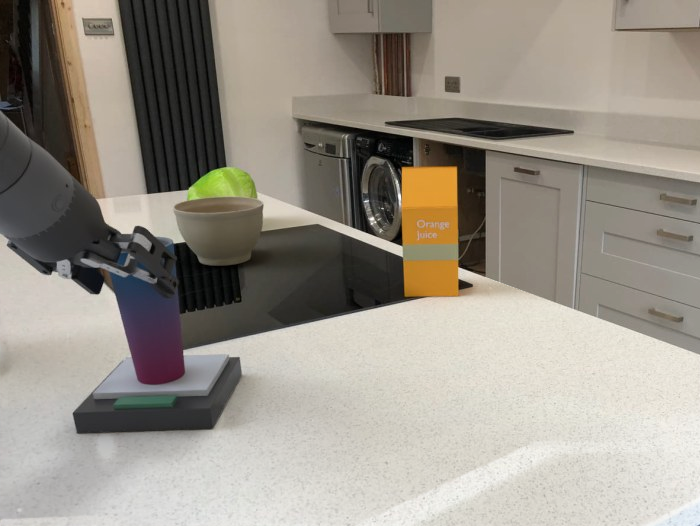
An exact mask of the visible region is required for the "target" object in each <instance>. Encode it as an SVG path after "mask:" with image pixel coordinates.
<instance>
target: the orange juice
mask: <svg viewBox="0 0 700 526" xmlns="http://www.w3.org/2000/svg"><path fill="white" fill-rule="evenodd" d="M458 206H459V205H458V166H401V208H400V209H401V233H402V234H401V235H402V237H401V238H402V244H401V245H402V261H403V286H404V297H405V298H409V297H411V298H412V297H413V298H414V297H419V298H421V297H459V214H458V212H459V210H458V209H459V207H458Z"/></svg>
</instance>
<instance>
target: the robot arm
mask: <svg viewBox="0 0 700 526" xmlns="http://www.w3.org/2000/svg"><path fill="white" fill-rule="evenodd" d="M0 234H1V236H2V237H4V238H6V239H7V240H8V241H7V243H6V247H8V249H10V250H11V251H12V252H13V253H15V254H16V255H17V256H19V257H20V258H21V259H22V260H24V261H25V262H26V263H27V264H29V265H30V266H31V267H33V268H34V269H35V270H36V271H37V272H38V273H40V274H42V275H45V276H51V275H53V273H57V275H58V277H60V278H62V279H64V280H72V281H73V282H74V283H75V284H77V285H78V286H79V287H80V288H82V289H83V290H85V292H87V293H88V294H90V295H97V296H99V295H100V294H101V292H102V289H103V286H104V284H105V276H104V275H103V274H102V273H100V272H99V271H98V270H97V268H101V269H103V270H106V271H108V272H109V271H110V272H113V273H115V274H117V275H120V276H122V277H125V278H127V277H129V276H131V275H132V276H135V277H137V278H139V279H142V280H144V281H146V282H147V283H148V284H149V285H150V286H151V287H153V288H154V289H155V290H156V291H157V292H158V293H159V294H160V295H161V296H163V297H164V298H170V299H172V298H173V297H174V294H175V293H176V290H177V288H178V286H179V284H180V281H179V279H178V277H177V276H176V277H177V278H176V277H175V276H174V275H173V274H172V272H173V269H174V266H176V263H177V260H178V257H177V255H174V254H175V253H174V254H173V253H172V252H171V251H170V250H169V249H168V248H167V247H166V246H164V245H163V244H162V243H161V242H160V241H159V240H158V239H157V238H156V237H157V236H155V235H154V234H153V233H152V232H151V231H150V230H149V229H147V228H146V227H144V226H142V225H135V226H134V227H133V230H132V233H121V232H120V230H118V229H116V228H115V227H113V226H111V225H109V224H108V223H107V222H106V220H105V218H104V216H103V213H102V208H101V205H100V203H99V202H98V199H96V197H95V196H94V195H93V194H92V193H91V192H90V191H88V190H87V188H85V186H83V184H81V182H79V181H78V180H77V179H76V178H75V177H74V176H73V175H72V174H71V173H70V172H69V171H68V170H67V169H66V168H65V167H64V166H63V165H62V164H61V163H60V162H59V161H58V160H57V159H56V158H55V157H54V156H53V155H52V154H51V153H49V152H48V150H46V149H45V148H44V147H42V146H41V145H40V144H38V143H36V142H35V141H34V140H32V139H31V138H30V136H27V135H26V134H25V133H24V132H23V131H22V130H21V129H20V128H19V127H18V126H17V125H16V124H15V123H14V122H13V121H12V120H11V119H10V118H9V117H7V115H6V114H5V113H4V112H3V111H1V110H0ZM122 248H125V249H127V250H126V251H127V252H128V256H127V259H126V262H125V265H124V266H121V265H119V264H117V262H118V260H119V257H120V254H121V250H122ZM138 261H139V262H140V263H141V264H142V265H143V266H144V267H146V268H147V270H146V271H144V270H142V269H139V268H138V267H137V262H138ZM95 268H96V269H95Z"/></svg>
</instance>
